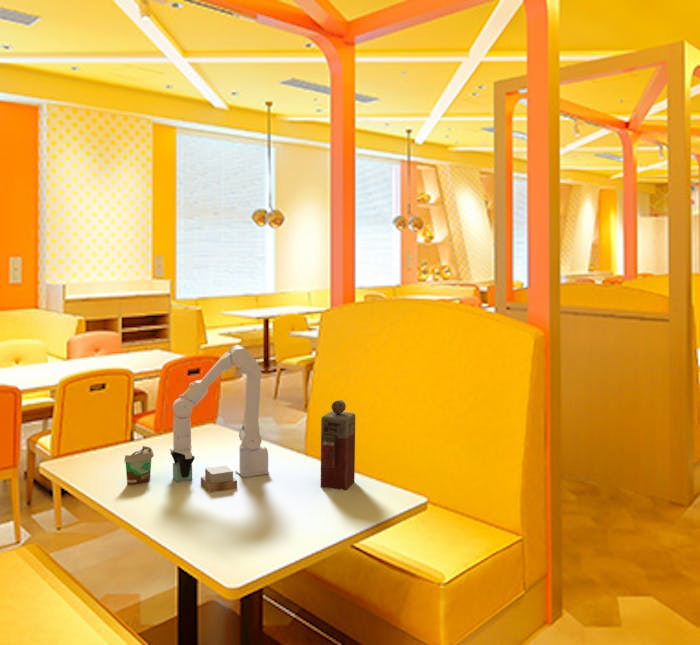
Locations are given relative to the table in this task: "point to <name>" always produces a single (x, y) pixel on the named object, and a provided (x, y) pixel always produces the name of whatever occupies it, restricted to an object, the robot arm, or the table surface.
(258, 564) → the table surface
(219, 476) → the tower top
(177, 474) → the teal cube
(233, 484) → the tower base
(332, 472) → the red grey gas pump
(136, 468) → the food container
